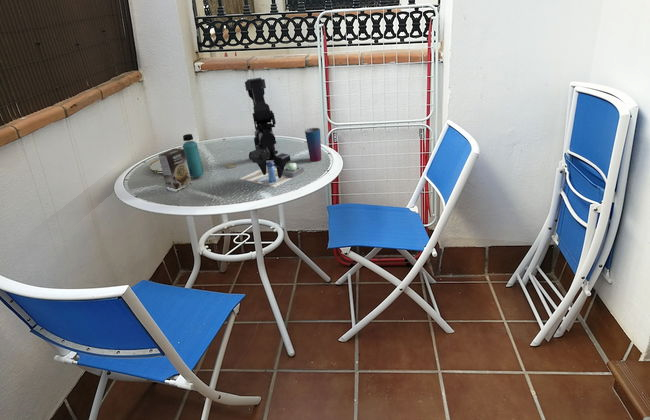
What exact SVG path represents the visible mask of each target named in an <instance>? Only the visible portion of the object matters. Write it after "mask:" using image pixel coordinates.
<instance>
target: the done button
mask: <svg viewBox="0 0 650 420" xmlns="http://www.w3.org/2000/svg"><path fill="white" fill-rule="evenodd" d="M296 166H297V163H296V162H288V163H286V168H287V170H288V171H291V172H293V171H295V170H297V167H296Z"/></svg>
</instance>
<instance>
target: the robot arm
mask: <svg viewBox="0 0 650 420" xmlns="http://www.w3.org/2000/svg"><path fill="white" fill-rule="evenodd" d="M244 87H245V91H246V92H247V94H248V97H249V98H250V99H251V100H252V104H253V107H252V108H253V112H252V119H253V120H252V121H253V124H254V130H255V131H254V137H253V142H254V148H255V149H254V150H252V151H250V152H249V154H248V158H249V160H251V162H252V163H253V164H257V165H258V167H259V170H260V169H261V171H262V173H263V175H266V166H267V165H266V163H267V161H273V162H274V166H275V167H276V169H277V174H278V177H279V178H281V176H282V173H283V170H284V168H286V166H287V164H289V163H290V162H291V155H289V153H282V152H281V153H280V154H278V153H279V151H278V150H276V145H277V141H276V136H275V134H274V132H273V128H275V127H276V124H277V122H276V118H275V113H274V112H273V110H272V109H271V108H270V105H269V104H268V103H267V102H266V101H265V100H266V99H265V97H264V95H265V94H266V93H265V89H267V87H266V81H265V79H264V78H263V79H262V77H257V78H255V77H254V78H248V79H246V81H245V82H244ZM277 154H278V155H277Z"/></svg>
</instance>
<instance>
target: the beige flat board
mask: <svg viewBox="0 0 650 420" xmlns="http://www.w3.org/2000/svg"><path fill="white" fill-rule="evenodd" d="M285 168H286V167H284V169H285ZM274 169H275V176H276V182H274V183H270V181H269V175H268V169H267V165H266V175H263V173H262V171H261V169H260V168H259V169H257V170H256V171H253V172H252V173H250V174H247V175H245V176H243V177H241V178H240V180H241V181H248V182H252V183H255V184H259V185H265V186H269V187H271V188H272V187H274V188H277V187H278V186H281V185H282V184H284V183H286V182H288V181H290V180H292V179H294V178H295V177H297V176H299V175H297V176H295V177H294V178H293V177H288V176H283V175H282V176H281V178H279V177H278V174H277V169H276V167H275V166H274Z"/></svg>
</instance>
